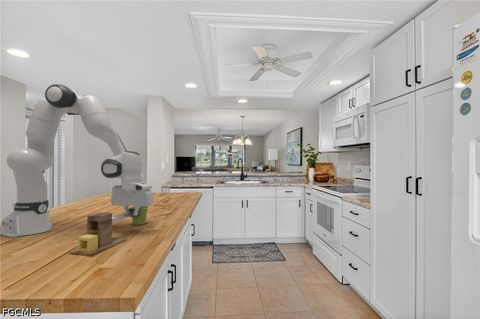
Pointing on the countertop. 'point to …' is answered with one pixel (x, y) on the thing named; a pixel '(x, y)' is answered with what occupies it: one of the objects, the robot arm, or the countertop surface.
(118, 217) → the shaft
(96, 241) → the block
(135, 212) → the robot arm
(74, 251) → the stand
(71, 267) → the countertop surface
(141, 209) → the plant pot
